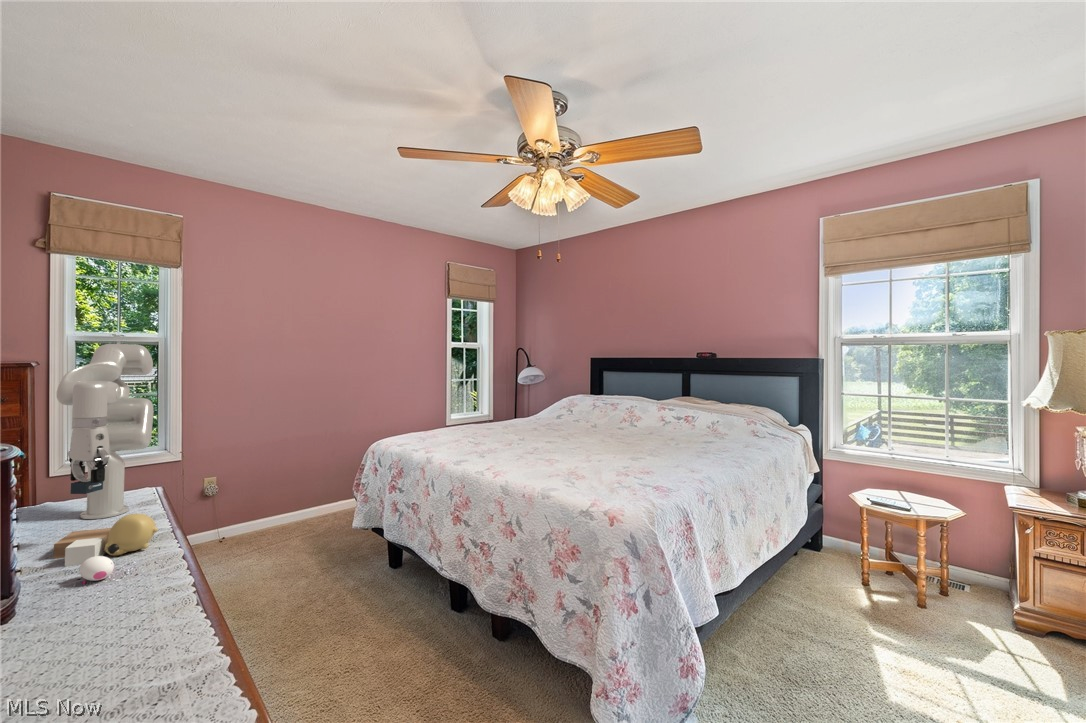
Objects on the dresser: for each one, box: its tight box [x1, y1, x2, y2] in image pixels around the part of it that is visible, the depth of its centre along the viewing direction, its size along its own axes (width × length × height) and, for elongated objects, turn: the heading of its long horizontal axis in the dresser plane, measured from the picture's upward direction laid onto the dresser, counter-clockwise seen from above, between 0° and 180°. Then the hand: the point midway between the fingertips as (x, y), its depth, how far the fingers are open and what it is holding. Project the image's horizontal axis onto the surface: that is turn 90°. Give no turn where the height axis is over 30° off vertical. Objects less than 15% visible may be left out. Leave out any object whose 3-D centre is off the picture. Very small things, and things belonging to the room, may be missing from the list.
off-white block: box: [64, 537, 105, 567], centre depth 126 cm, size 6×6×5 cm
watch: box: [70, 458, 103, 495], centre depth 138 cm, size 6×8×11 cm
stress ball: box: [78, 555, 115, 585], centre depth 116 cm, size 8×8×7 cm
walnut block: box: [53, 527, 112, 560], centre depth 133 cm, size 10×10×4 cm
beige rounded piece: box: [104, 513, 159, 557], centre depth 133 cm, size 10×12×11 cm
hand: (87, 480), depth 138 cm, fingers closed on watch, 8 cm apart
